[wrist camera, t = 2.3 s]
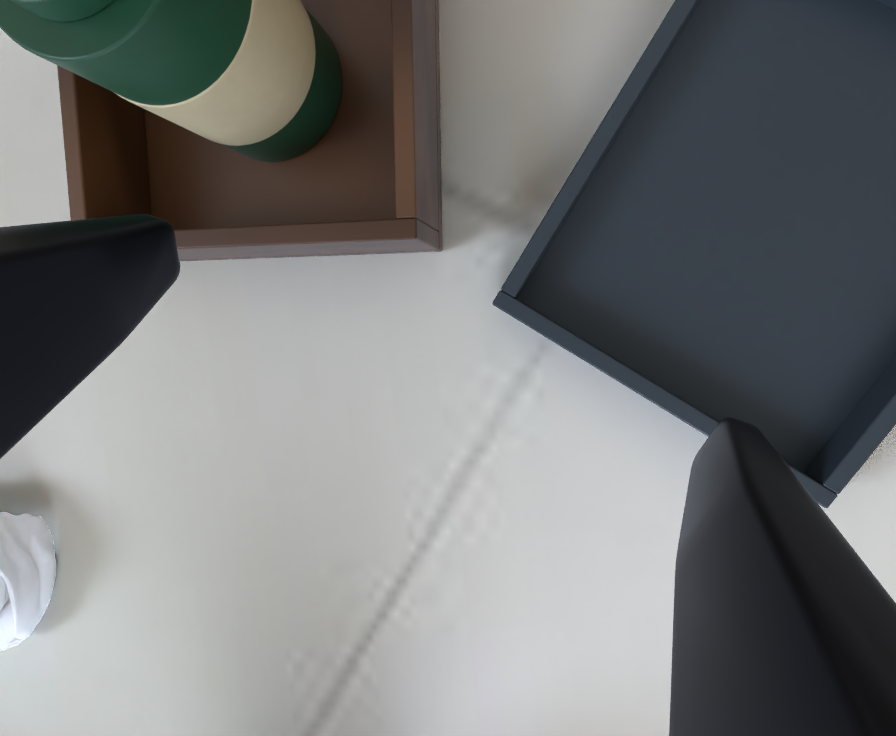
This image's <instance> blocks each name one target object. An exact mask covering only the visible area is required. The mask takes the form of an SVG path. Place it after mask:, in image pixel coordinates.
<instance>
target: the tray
mask: <svg viewBox="0 0 896 736" xmlns="http://www.w3.org/2000/svg"><path fill="white" fill-rule="evenodd" d="M493 305H494V306H496V307H498V308H499V309H501V310H502V311H504V312H506V313H507V314H509V315H511V316H512V317H514V318H516V319H517V320H519V321H520V322H522V323H524V324H525V325H527V326H529V327H530V328H532V329H534V330H535V331H537V332H538V333H540V334H542V335H543V336H545V337H547V338H548V339H550V340H552V341H553V342H555V343H556V344H558V345H560V346H561V347H563V348H565V349H566V350H568V351H569V352H571V353H573V354H574V355H576V356H578V357H579V358H581V359H583V360H584V361H586V362H587V363H589V364H591V365H592V366H594V367H596V368H597V369H599V370H601V371H602V372H604V373H605V374H607V375H609V376H610V377H612V378H614V379H615V380H617V381H618V382H620V383H622V384H623V385H625V386H627V387H628V388H630V389H632V390H633V391H635V392H636V393H638V394H640V395H641V396H643V397H645V398H646V399H648V400H650V401H651V402H653V403H654V404H656V405H658V406H659V407H661V408H663V409H664V410H666V411H668V412H669V413H671V414H672V415H674V416H676V417H677V418H679V419H681V420H682V421H684V422H685V423H687V424H689V425H690V426H692V427H694V428H695V429H697V430H699V431H700V432H702V433H703V434H705V435H707V436H708V437H709V436H710V435H711V433H712V432H713V430H714V429H715V428H716V426H717V425H718V423H719V422H720V421H721V420H723V419H724V418H726V417H732V418H735V419H738V420H741V421H744V422H746V423H749V424H752V425H755V426H756V427H758V428H759V430H760V431H761V432H762V433H763V435H764V436H765V437H766V438H767V440H768V441H769V442H770V443H771V445H772V446H773V447H774V449H775V450H776V451H777V452H778V454H779V455H780V456H781V458H782V459H783V460H784V461H785V463H786V464H787V465H788V466H789V468H790V469H791V470H792V472H793V473H794V474H795V475H796V477H797V478H798V479H799V480H800V482H801V483H802V484H803V486H804V487H805V488H806V489H807V491H808V492H809V493H810V495H811V496H812V497H813V498H814V500H815V501H816V502H817V503H818V504H819V505H821V506H823V507H824V508H828V507H829V506H830V504H831V503H832V502H833V501H834V499H835V498H836V497H837V494H839V493H840V492H841V491H842V490H843V488H844V487H845V486H846V485H847V483H848V482H849V481H850V480H851V479H852V477H853V476H854V475H855V474H856V472H857V471H858V470H859V469H860V467H861V466H862V465H863V464H864V463H865V461H866V460H867V459H868V458H869V456H870V455H871V454H872V453H873V451H874V450H875V449H876V448H877V447H878V445H879V444H880V443H881V442H882V440H883V439H884V438H885V437H886V436H887V434H888V433H889V432H890V431H891V429H892V428H893V427H894V426H895V424H896V0H675V2H674V4H673V5H672V7H671V8H670V10H669V12H668V13H667V15H666V17H665V18H664V20H663V22H662V23H661V25H660V27H659V28H658V30H657V32H656V33H655V35H654V37H653V38H652V40H651V42H650V43H649V45H648V46H647V48H646V50H645V51H644V53H643V55H642V56H641V58H640V60H639V61H638V63H637V65H636V66H635V68H634V70H633V71H632V73H631V75H630V76H629V78H628V80H627V81H626V83H625V84H624V86H623V88H622V89H621V91H620V93H619V94H618V96H617V98H616V99H615V101H614V103H613V104H612V106H611V108H610V109H609V111H608V113H607V114H606V116H605V118H604V119H603V121H602V122H601V124H600V126H599V127H598V129H597V131H596V132H595V134H594V136H593V137H592V139H591V141H590V142H589V144H588V146H587V147H586V149H585V151H584V152H583V154H582V156H581V157H580V159H579V161H578V162H577V164H576V165H575V167H574V169H573V170H572V172H571V174H570V175H569V177H568V179H567V180H566V182H565V184H564V185H563V187H562V189H561V190H560V192H559V194H558V195H557V197H556V199H555V200H554V202H553V203H552V205H551V207H550V208H549V210H548V212H547V213H546V215H545V217H544V218H543V220H542V222H541V223H540V225H539V227H538V228H537V230H536V232H535V233H534V235H533V237H532V238H531V240H530V241H529V243H528V245H527V246H526V248H525V250H524V251H523V253H522V255H521V256H520V258H519V260H518V261H517V263H516V265H515V266H514V268H513V270H512V271H511V273H510V275H509V276H508V278H507V279H506V281H505V283H504V284H503V286H502V288H501V290H500V291H499V293H498V294H497V296H496V298H495V299H494V301H493ZM836 493H837V494H836Z"/></svg>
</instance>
